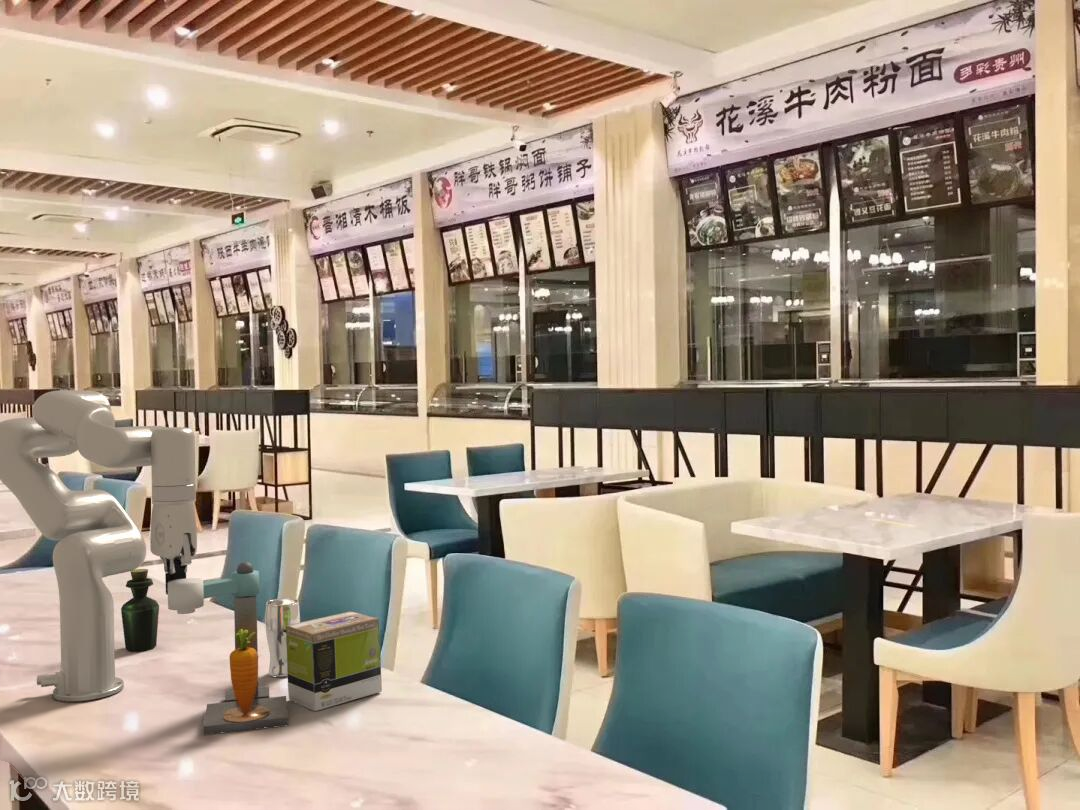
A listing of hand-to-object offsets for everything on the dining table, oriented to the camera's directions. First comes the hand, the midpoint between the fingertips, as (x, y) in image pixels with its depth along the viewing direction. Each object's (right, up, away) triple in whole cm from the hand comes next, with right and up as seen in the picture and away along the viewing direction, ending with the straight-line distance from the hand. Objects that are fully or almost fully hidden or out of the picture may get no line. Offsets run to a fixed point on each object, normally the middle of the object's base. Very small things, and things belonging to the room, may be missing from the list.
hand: (176, 593), depth 171 cm
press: (+13, -21, -1) cm, 25 cm away
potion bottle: (-25, -22, +43) cm, 55 cm away
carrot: (+15, -20, -6) cm, 26 cm away
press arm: (+7, -2, 0) cm, 8 cm away
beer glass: (+14, -21, +23) cm, 34 cm away
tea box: (+28, -22, +7) cm, 36 cm away
